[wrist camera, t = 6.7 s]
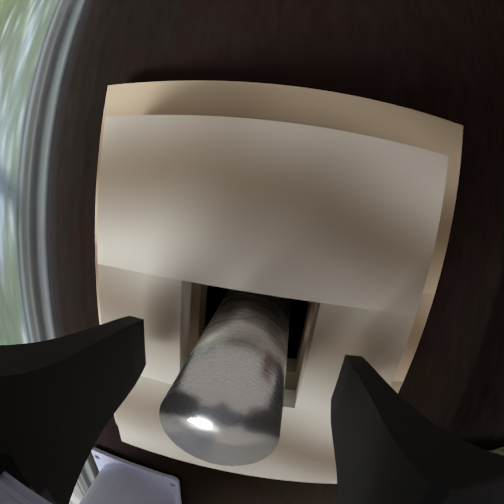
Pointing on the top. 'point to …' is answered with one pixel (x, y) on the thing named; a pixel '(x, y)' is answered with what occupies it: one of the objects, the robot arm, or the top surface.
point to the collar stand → (270, 237)
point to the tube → (232, 383)
